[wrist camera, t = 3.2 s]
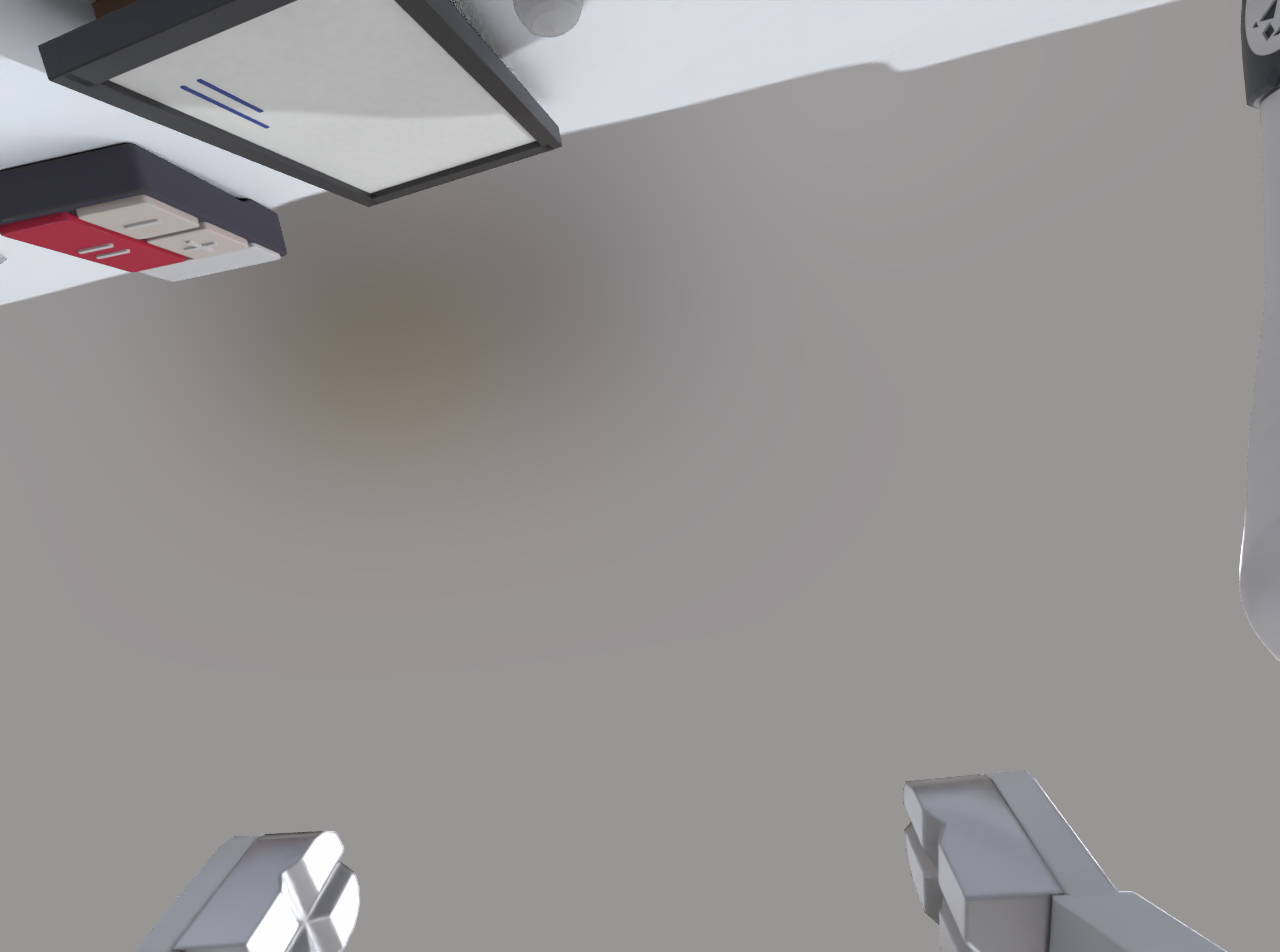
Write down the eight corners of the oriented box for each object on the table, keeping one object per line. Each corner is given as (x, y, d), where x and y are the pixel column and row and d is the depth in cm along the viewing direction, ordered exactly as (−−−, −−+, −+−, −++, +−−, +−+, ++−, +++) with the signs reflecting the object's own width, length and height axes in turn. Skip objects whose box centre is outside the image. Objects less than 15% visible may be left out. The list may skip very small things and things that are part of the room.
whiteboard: (346, -166, 21) (371, -60, 21) (552, 96, 41) (562, 146, 42) (20, -6, 25) (48, 80, 25) (356, 161, 45) (368, 207, 46)
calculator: (147, 201, 37) (292, 264, 52) (128, 131, 36) (279, 214, 51) (-18, 237, 37) (173, 289, 52) (-39, 168, 37) (160, 240, 52)
